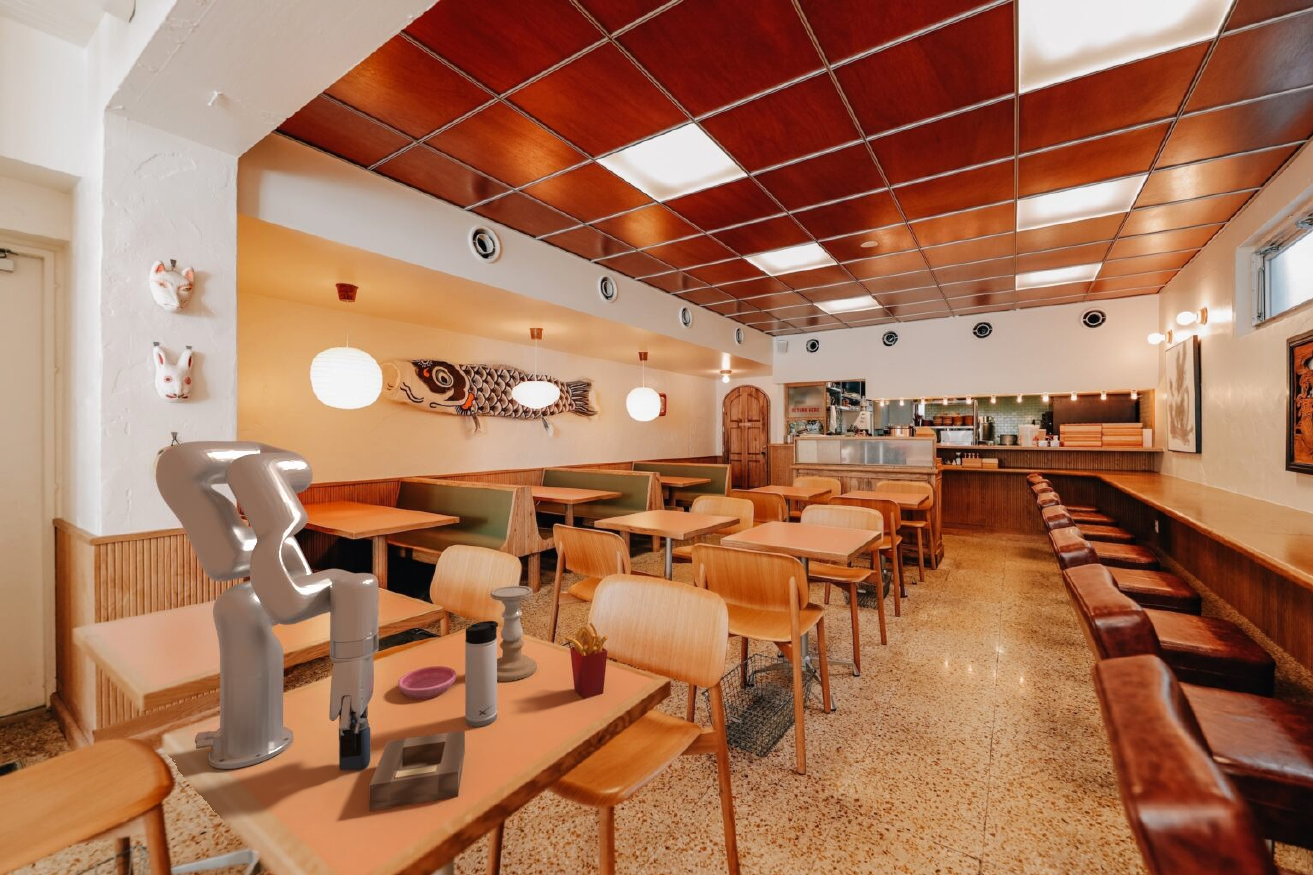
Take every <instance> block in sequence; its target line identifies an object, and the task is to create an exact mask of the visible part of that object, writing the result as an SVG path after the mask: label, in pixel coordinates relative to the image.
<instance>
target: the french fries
mask: <svg viewBox="0 0 1313 875" xmlns="http://www.w3.org/2000/svg"><path fill="white" fill-rule="evenodd" d="M588 624H589V626H587V627H586V626H584V625H583V626H582V627H580V629H579V630H578V632H575V633H574V637H575V638H573V637H570V636H569V635H567V636H566V638H565V641H568V642H570V643H572V645H574V646H573V647H569V650H570V652H569V653H570V661H571V668H572V679H573V688H574V692H575V693H576V694H577V695H579V696H580V697H581V698H582V699H583V700H586V699H590V698H591V697H595V696H599V695H603V694H604V688H605V681H606V680H605V679H606V671H607V669H606V667H607V660H608V649H606V648H605V647H603V645H604V644H605V642H606V641H607V640H608V639H609V636H608V635H604V636H603V637H601V635H599V634H598V631H597V629H596V627H595V625H594V624H593V622H590V623H588ZM590 627H591V628H590ZM591 629H592V630H591Z"/></svg>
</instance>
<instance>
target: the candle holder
mask: <svg viewBox="0 0 1313 875" xmlns="http://www.w3.org/2000/svg"><path fill="white" fill-rule="evenodd" d="M533 594H534V589H533V588H532V587H530V586H525V585H508V586H501V587H498V588H495V589H493V590H491V592H490V594H489V595H490V598H491V599H492V600H495V601H501V603H502V605H504V611H503V612H502V613H501V617H502V618H503V624H502V628H501V631H500V637H501V639H502V641H501V642H500V644H499V647H500V649H501V650H502V656H500V657H497V680H498V681H497V682H513V681H512V680H515V681H517V680H516V679H520V680H522V679H521V678H523V679H526V678H529V677H530V676H532V675H534V674H535V673H536V671H537V668H538V665H537V664H538V663H537V661H536V660H535V659H533V658H531V657H529V656H527V655H525V654H522V647H523V646H524V644H525V643H524V642H525V641H524V640H523V639H522V637H523V634H524V629H523V627H522V623H521V618H520V617H521V616H522V615H523V612H522V610H521V609H520V603H522V602H523V600H524V599H527V598H529V597H531V596H533ZM531 674H532V675H531Z"/></svg>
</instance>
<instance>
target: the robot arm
mask: <svg viewBox="0 0 1313 875" xmlns="http://www.w3.org/2000/svg"><path fill="white" fill-rule="evenodd" d="M157 460H158V461H157V464H156V468H155V478H156V479H155V481H156V485H157V486H156V487H157V488H158V491H159V493H160V495H161V498H162V499H163V502H164V503H166V505H167V507H168V508H169V509H170V510H171V512H172V513H173V514H174V515H175V516H176V518H177V520H178V521H179V523H180V524H181V526H182V528H183V530H184V532H185V535H186V536H187V539H188V542H189V543H190V545H191V547H192V549H193V551H194V554H195V557H196V558H197V560H198V562H199V564H200V566H201V568H202V570H203V572H204V574H205V575H206V576H207V577H208V578H209V579H210V580H211V581H215V582H220V583H221V582H222V583H223V582H230V581H234V580H238V579H239V580H240V579H243V578H247V577H249V580H247V581H243V582H240V583H236V584H235V585H233V586H230V587H228V588H226V589H225V590H224V591H222V593H220V594H219V596H217V597H216V599H215V601H214V603H213V608H212V618H213V622H214V626H215V630H216V634H217V638H218V645H219V678H220V680H219V681H220V682H219V689H220V690H219V728H218V729H216V730H213V731H211V730H208V731H201V732H197V734H196V735H195V737H194V744H195V749H196V750H198V749H206V748H211V751H210V753H209V755H208V764H209V765H210V766H211V767H212V768H216V769H221V770H222V769H223V770H230V769H231V770H232V769H239V768H243V767H244V768H245V767H249V766H252V765H256V764H259V763H261V762H265V761H267V760H268V759H271V758H273V757H275V756H277V755H279V754H281V753H282V752H283V751H285V750H286V749H287V748H288V747H289V746H290V745H291V744H292V742H293V740H294V732H293V731H292V729H290V728H288V727H286V726H284V647H283V644H282V642H281V640H280V639H279V638H278V637H277V636H276V634H275V633H274V631H273V629H272V628H273V627H274V626H277V625H279V624H280V625H284V626H287V625H288V626H291V625H295V624H298V623H301V622H305V621H307V620H310V619H312V618H315V617H318V616H321V615H324V614H327V613H330V614H329V615H330V616H329V620H330V621H329V659H330V660H331V661H333V665H332V670H331V680H330V683H331V684H330V693H329V694H330V696H329V697H330V698H329V715H328V717H329V718H328V719H329V720H330V721H331V722H334V721H335V720H336V721H337V718H339V714H340V713H341V720H340V727H339V726H338V731H339V730H340V731H341V757H342V758H344V757H351V756H358V755H360V754H361V753H362V731H360V718H367V719H368V717H369V716H368V715H369V712H368V710H369V707H368V706H369V703H370V701H371V699H372V697H373V694H374V686H375V685H374V684H375V683H374V682H375V668H374V667H375V666H374V665H375V664H374V655H375V654H377V653H378V651H379V645H380V644H379V640H380V638H379V596H380V595H379V580H378V577H377V576H376V575H375V574H373V573H370V572H369V573H367V572H359V573H358V572H357V573H354V572H350V571H347V570H344V569H339V568H330V569H329V568H328V569H325V570H321V571H317V572H314V573H313V571H312V569H311V567H310V565H309V563H308V560H307V559H306V557H305V555H304V553H303V550H302V549H301V547H300V546H301V545H300V544H299V542H298V540H297V539H296V537H295V535H296V534H298V533H299V532H300V531H301V530H303V529H304V527H306V525H307V523H308V521H309V515H308V513H307V510H306V509H305V508H304V506H303V504H302V502H301V501H300V499H299V497H298V495H297V494H299V493H302V492H305V491H306V490H307V489H308V488H309V487H310V486H311V484H312V481H313V477H314V476H313V469H312V467H311V465H310V463H309V461H308V460H307V459H306V458H305V457H303V456H302V455H301V454H299V453H298V452H295V451H291V450H288V449H283V448H281V447H277V446H273V445H269V444H265V443H262V442H256V441H251V440H250V441H248V440H247V441H244V440H243V441H235V440H232V441H229V440H226V441H223V440H205V441H204V440H201V441H198V440H197V441H187V442H182V443H178V444H175V445H173V446H170V447H169V448H167V449H165V450H164V452H162V453H161V455H160V456H159V458H158V459H157ZM224 484H227V486H228V487H229V489H230V491H231V492H232V494H233V496H234V498H235V500H236V502H237V504H238V506H239V508H240V509H241V511H242V512H243V515H244V516H245V519H246V521H247V522H248V524H249V525H250V526H249V525H247V524H246V523H245V522H244V520H243V518H242V517H241V514H240V513H239V510H238V508H237V507H236V505H235V504H234V503H233V501H231V500H230V499H229V498H228V497H226V496H225V495H224V494H222V493H220V492H219V491H217V490H216V489H215V488H213V485H224ZM351 712H355V714H351ZM353 719H355V724H354V722H350V720H353Z"/></svg>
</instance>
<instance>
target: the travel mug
mask: <svg viewBox="0 0 1313 875" xmlns="http://www.w3.org/2000/svg"><path fill="white" fill-rule="evenodd" d="M498 626H499V623H498V622H497V621H495V620H486V621H480V622H475V623H473V624H471V625H470V626H468V627H466V628H465V641H464V642H465V645H464V646H465V649H464V651H465V652H464V655H465V658H464V660H465V662H464V665H465V666H464V668H465V670H464V672H465V673H464V674H465V682H464V683H465V689H464V690H465V691H464V692H465V693H464V694H465V695H464V696H465V698H464V701H465V711H464V712H465V715H464V716H465V720H464V721H465V724H466V725H468V726H469V727H475V728H479V727H480V728H482V727H485V726H488V725H491V724H492V723H494V722H495V721H496V720H497V718H498V681H497V659H498V641H497V640H498V637H497V632H498V631H497V629H498V628H497V627H498Z"/></svg>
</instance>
